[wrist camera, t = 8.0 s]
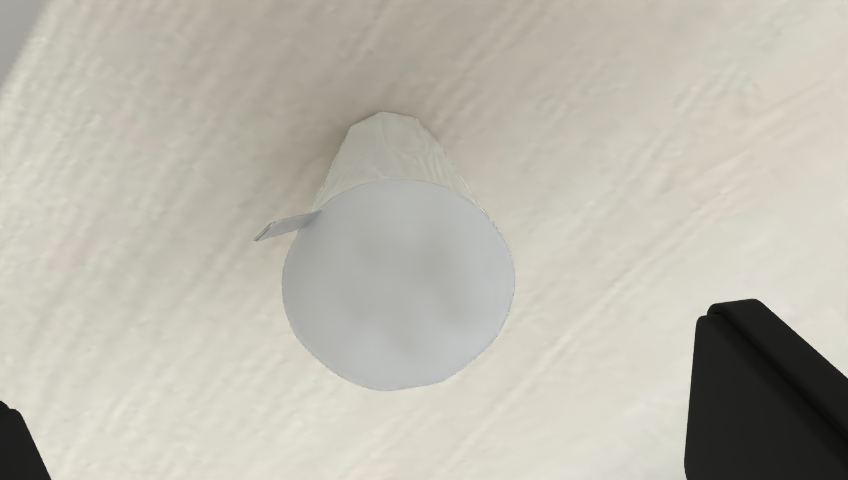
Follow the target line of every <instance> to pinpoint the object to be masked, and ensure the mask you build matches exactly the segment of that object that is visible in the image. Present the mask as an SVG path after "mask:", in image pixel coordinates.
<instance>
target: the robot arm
mask: <svg viewBox="0 0 848 480" xmlns="http://www.w3.org/2000/svg"><path fill="white" fill-rule="evenodd" d="M684 468H685V474H686V478H687V480H848V378H847V377H846V376H844V375H843V374H842V373H841V372H840V371H839V370H838V369H836V368H835V367H834V366H833V365H832V364H831V363H830V362H829V361H827V360H826V359H825V358H824V357H823V356H822V355H821V354H820V353H818V352H817V351H816V350H815V349H814V348H813V347H812V346H810V345H809V344H808V343H807V342H806V341H805V340H804V339H803V338H801V337H800V336H799V335H798V334H797V333H796V332H795V331H794V330H792V329H791V328H790V327H789V326H788V325H787V324H786V323H784V322H783V321H782V320H781V319H780V318H779V317H778V316H777V315H775V314H774V313H773V312H772V311H771V310H770V309H769V308H767V307H766V306H765V305H764V304H763V303H762V302H760V301H759V300H757V299H746V300H738V301H731V302H724V303H716V304H713V305H711V306H710V308H709V309H708V311H707V315H705V316H701V317H699V318H698V320H697V323H696V330H695V342H694V353H693V365H692V376H691V388H690V400H689V411H688V423H687V434H686V446H685V457H684ZM0 480H51V478H50V476H49V474H48V471H47V469H46V467H45V465H44V463H43V461H42V458H41V456H40V454H39V452H38V450H37V447H36V445H35V443H34V441H33V439H32V436H31V434H30V432H29V430H28V428H27V425H26V423H25V421H24V419H23V417H22V415H21V414H20V412H18V411H17V410H16V409H9V407H8V406H7V405H6V404H5V403H3V402H2V401H0Z"/></svg>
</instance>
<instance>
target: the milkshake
mask: <svg viewBox="0 0 848 480" xmlns="http://www.w3.org/2000/svg"><path fill="white" fill-rule="evenodd" d="M298 229H299V231H298V233H297V235H296V237H295V238H294V240H293V242H292V244H291V246H290V248H289V250H288V253H287V256H286V259H285V262H284V267H283V273H282V296H283V303H284V307H285V311H286V315H287V318H288V320H289V323H290V325H291V328H292V330H293V332H294V334H295V335H296V337H297V338H298V340H299V341H300V342H301V343H302V345H303V346H304V347H305V348H306V349H307V350H308V351H309V352H310V353H311V354H312V355H313V356H315V357H316V358H317V359H318V360H319V361H320V362H321V363H322V364H324V365H325V366H326V367H327V368H329V369H330V370H331V371H332V372H334V373H335V374H337V375H338V376H340V377H342V378H344V379H345V380H347V381H349V382H352V383H354V384H356V385H359V386H362V387H365V388H368V389H373V390H378V391H393V390H401V389H407V388H414V387H421V386H427V385H432V384H435V383H439V382H442V381H444V380H446V379H448V378H450V377H451V376H453V375H455V374H456V373H457V372H459V371H460V370H462V369H463V368H464V367H466V366H467V365H468V364H470V363H471V362H472V361H473V360H475V359H476V358H477V357H478V356H479V355H481V354H482V353H483V352H484V351H485V350H486V349H487V348H488V347H489V346H490V344H491V343H492V342H493V341H494V339H495V338H496V337H497V335H498V333H499V332H500V330H501V328H502V326H503V324H504V322H505V320H506V317H507V315H508V312H509V309H510V306H511V303H512V299H513V295H514V289H515V268H514V263H513V259H512V255H511V252H510V249H509V247H508V245H507V243H506V241H505V239H504V237H503V235H502V234H501V232H500V231H499V229H498V228H497V227H496V225H495V224H494V223H493V222H492V220H491V219H490V218H489V216H488V215H487V213H486V212H485V211H484V209H483V208H482V207H481V205H480V204H479V203H478V201H477V200H476V199H475V197H474V196H473V195H472V193H471V192H470V191H469V189H468V188H467V186H466V185H465V183H464V182H463V180H462V178H461V177H460V175H459V173H458V172H457V170H456V169H455V167H454V165H453V164H452V162H451V161H450V159H449V157H448V156H447V154H446V153H445V151H444V149H443V148H442V146H441V145H440V143H439V142H438V140H437V139H436V138H435V137H434V136H433V135H432V134H431V133H430V132H429V131H428V130H427V129H426V128H425V127H424V126H423V125H422V124H421V123H420V122H419V121H418V120H417V119H416V118H415V117H412V116H406V115H400V114H394V113H389V112H383V111H381V112H378V113H376V114H374V115H372V116H370V117H368V118H366V119H364V120H362V121H360V122H358V123H356V124H354V125H352V126H350V128H349V130H348V132H347V134H346V136H345V138H344V140H343V142H342V144H341V146H340V148H339V150H338V152H337V154H336V156H335V158H334V160H333V163H332V165H331V167H330V170H329V172H328V175H327V177H326V180H325V182H324V184H323V187H322V189H321V191H320V192H319V194H318V195H317V197H316V199H315V201H314V203H313V204H312V206H311V208H310V210H309V212H308V213H306V214H302V215H298V216H294V217H290V218H286V219H282V220H278V221H275V222H272V223H270V224H269V225H268V226H267V227H266V228H265V229H264V230H263V231H262V232H261V233H260V234H259V235H258V236H257V237H256V238H255V239H254V241H255V242H258V241H262V240H265V239H268V238H272V237H275V236H278V235H281V234H285V233H288V232H291V231H295V230H298Z"/></svg>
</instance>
